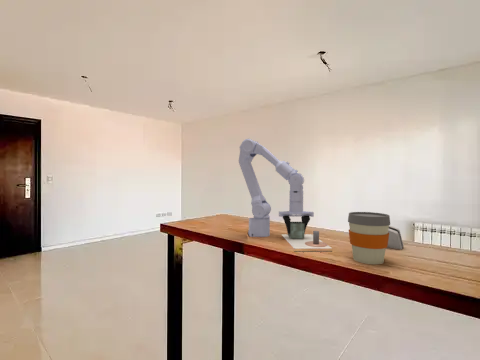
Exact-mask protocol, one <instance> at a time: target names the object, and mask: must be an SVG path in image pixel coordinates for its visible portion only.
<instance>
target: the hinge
mask: <svg viewBox="0 0 480 360" xmlns="http://www.w3.org/2000/svg"><path fill="white" fill-rule="evenodd" d="M388 233H389V239H388V246H387V248H390V249H395V250H403V248H404V242H403V239H402V234H401V230H400V229H399V228H397V227H395V226H392V225H389V229H388Z"/></svg>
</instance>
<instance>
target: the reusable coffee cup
mask: <svg viewBox="0 0 480 360" xmlns="http://www.w3.org/2000/svg"><path fill="white" fill-rule="evenodd" d="M390 217H391V216H390V215H389V214H386V213H383V212H382V213H381V212H370V211H351V212H348V218H347V222H348V224H349V229H348V235H349V237H348V238H349V243H350V244H351V249H352V250H351V251H352V256H353V257H352V258H353V260H354V261H355V262H358V263H362V264H367V265H381V264H384V260H385V253H386V249H387V248H388V247H387V246H388V239H389V233H388V229H389V226H391V218H390Z"/></svg>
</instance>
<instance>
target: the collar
mask: <svg viewBox="0 0 480 360" xmlns="http://www.w3.org/2000/svg"><path fill="white" fill-rule="evenodd" d="M287 234H288V233H287ZM288 236H289V237H290V238H304V223H302V221H290V234H288Z"/></svg>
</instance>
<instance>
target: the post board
mask: <svg viewBox="0 0 480 360" xmlns="http://www.w3.org/2000/svg"><path fill="white" fill-rule="evenodd" d="M280 235H281V236H282V237H283V239H285V240H286V242H287V243H289V245H290V246H291V247H292V248H293V249H294V250H293V252H294V253H306V252H307V253H313V252H316V253H317V252H318V253H319V252H320V253H323V252H325V253H327V252H330V253H332V252H333V250H321V249H332V247H331V246H330V245H329V244H328V243H326V242H324V241H322V240H321V239H320V231H319V230H313V231H312V234H311V233H310V234H309V233H306V234H304V238H290V237H289V236H288V233H285V234H280ZM297 249H298V250H297ZM299 249H301V250H299ZM303 249H305V250H303ZM307 249H309V250H307ZM310 249H315V250H310ZM316 249H318V250H316ZM319 249H320V250H319Z"/></svg>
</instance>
